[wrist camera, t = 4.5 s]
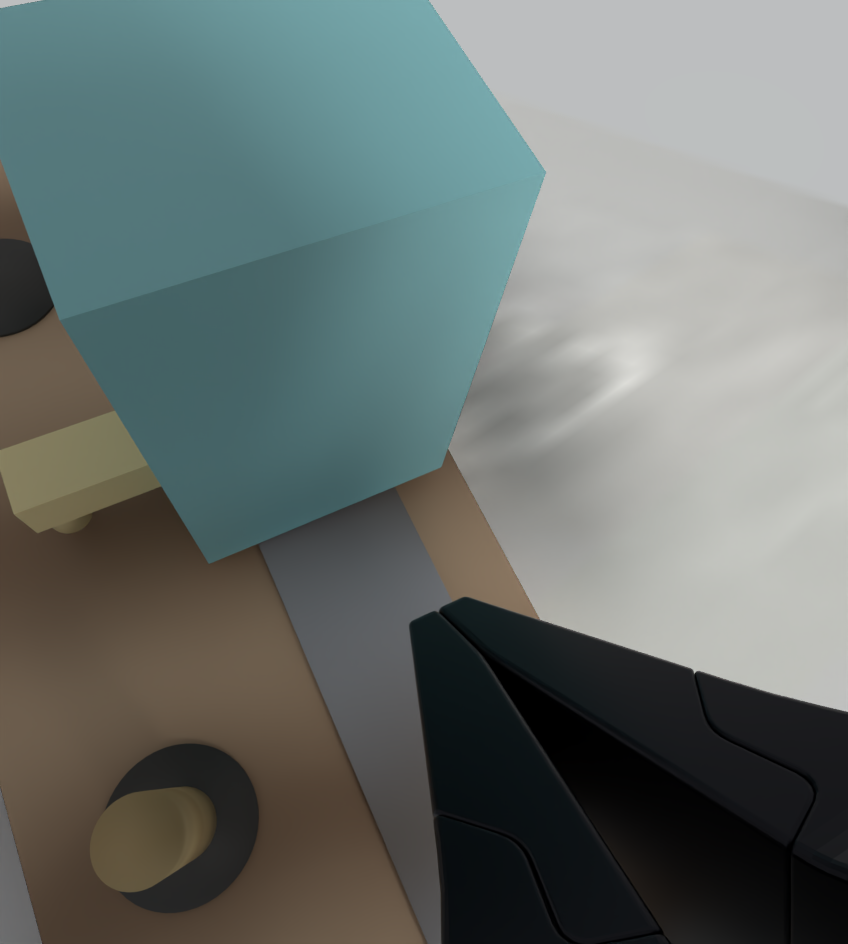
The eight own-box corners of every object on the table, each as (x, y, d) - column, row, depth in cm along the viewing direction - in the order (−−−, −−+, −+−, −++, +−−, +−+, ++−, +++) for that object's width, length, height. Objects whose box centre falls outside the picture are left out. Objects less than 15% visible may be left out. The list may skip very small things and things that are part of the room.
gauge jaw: (441, 467, 15) (546, 171, 7) (80, 617, 13) (-259, 416, 6) (361, 317, 16) (384, -64, 9) (20, 434, 14) (-324, 67, 7)
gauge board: (668, 926, 14) (827, 1001, 10) (180, 1257, 12) (79, 1577, 7) (260, 148, 21) (240, -27, 16) (-111, 246, 18) (-261, 69, 14)
